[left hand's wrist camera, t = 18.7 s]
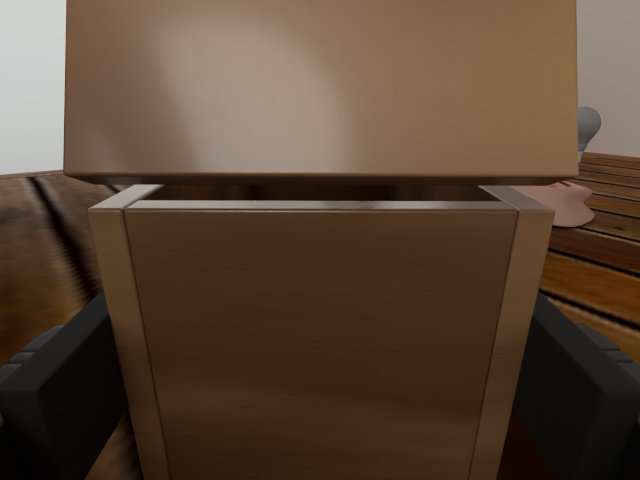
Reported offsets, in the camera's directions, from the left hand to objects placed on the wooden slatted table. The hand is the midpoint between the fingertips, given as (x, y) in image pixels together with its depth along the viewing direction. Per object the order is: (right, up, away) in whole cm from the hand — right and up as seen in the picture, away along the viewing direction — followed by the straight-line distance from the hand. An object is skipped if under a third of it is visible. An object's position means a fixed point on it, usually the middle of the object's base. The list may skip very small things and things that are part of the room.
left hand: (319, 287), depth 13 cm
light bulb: (+47, +15, +60) cm, 78 cm away
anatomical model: (+24, +5, +32) cm, 41 cm away
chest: (0, -5, +6) cm, 8 cm away
